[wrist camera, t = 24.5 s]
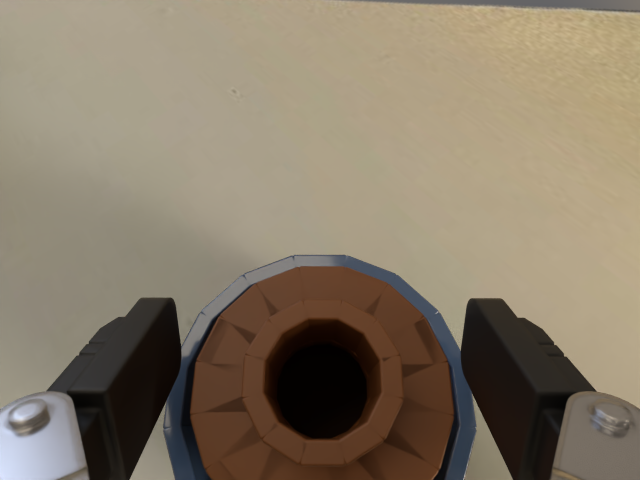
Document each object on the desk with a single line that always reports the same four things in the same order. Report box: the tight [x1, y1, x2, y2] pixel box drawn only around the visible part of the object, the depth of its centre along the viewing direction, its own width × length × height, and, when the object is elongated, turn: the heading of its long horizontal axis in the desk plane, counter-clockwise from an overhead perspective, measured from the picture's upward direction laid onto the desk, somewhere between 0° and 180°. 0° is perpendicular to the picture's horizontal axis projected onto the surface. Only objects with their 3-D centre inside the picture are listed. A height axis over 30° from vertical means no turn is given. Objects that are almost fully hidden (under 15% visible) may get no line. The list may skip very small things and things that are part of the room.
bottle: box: [190, 266, 454, 480], centre depth 13 cm, size 6×6×11 cm
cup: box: [163, 255, 476, 480], centre depth 15 cm, size 9×9×6 cm
